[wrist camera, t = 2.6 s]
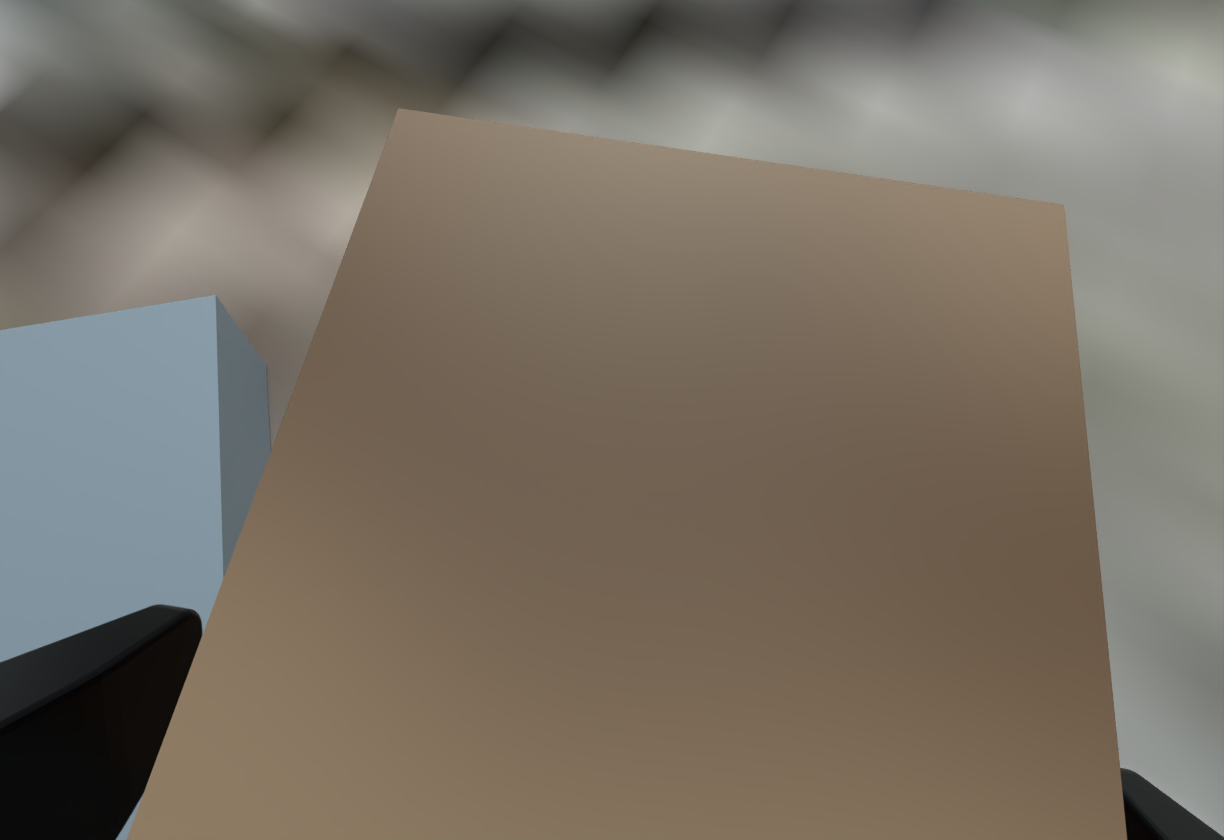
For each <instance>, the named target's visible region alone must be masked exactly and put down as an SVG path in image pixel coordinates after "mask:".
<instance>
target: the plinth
mask: <svg viewBox="0 0 1224 840" xmlns="http://www.w3.org/2000/svg"><path fill="white" fill-rule="evenodd" d="M270 452H271V446H270V428H269V410H268V392H267V374H266V364H265V363H264V361H263V360H262V359H261V357H260V356H259V354H258V353H257V352H256V350H255V349H254V348H253V346H252V345H251V343H250V342H249V341H248V339H247V338H246V337H245V335H244V334H243V332H242V331H241V330H240V328H239V327H238V325H237V324H236V323H235V321H234V320H233V319H232V317H231V316H230V314H229V313H228V312H227V310H226V309H225V307H224V306H223V305H222V303H221V302H220V301H219V299H218V298H217V296H216V295H213V296H207V297H201V298H195V299H189V300H183V301H176V302H170V303H164V304H158V305H152V306H146V307H140V308H134V309H128V310H121V311H115V312H109V313H103V314H97V315H91V316H85V317H79V318H72V319H66V320H60V321H54V322H48V323H42V324H36V325H30V326H24V327H17V328H11V329H5V330H0V662H2V661H5V660H8V659H10V658H13V657H16V656H18V655H21V654H24V653H26V652H29V651H32V650H34V649H37V648H40V647H42V646H45V645H48V644H50V643H53V642H56V641H58V640H61V639H64V638H66V637H69V636H72V635H74V634H77V633H80V632H83V631H85V630H88V629H91V628H93V627H96V626H99V625H101V624H104V623H107V622H109V621H112V620H115V619H117V618H120V617H123V616H125V615H128V614H131V613H133V612H136V611H139V610H141V609H144V608H147V607H149V606H152V605H156V604H165V605H171V606H177V607H183V608H189V609H193V610H195V611H196V612H197V613H198V614H199V615H200V618H201V621H202V631H203V633H204V630H205V627H206V624H207V622H208V619H209V616H210V614H211V611H212V608H213V606H214V603H215V600H216V598H217V595H218V592H219V590H220V587H221V584H222V581H223V579H224V576H225V573H226V571H227V568H228V565H229V563H230V560H231V557H232V555H233V552H234V549H235V547H236V544H237V541H238V538H239V536H240V533H241V530H242V528H243V525H244V522H245V520H246V517H247V514H248V512H249V509H250V506H251V504H252V501H253V498H254V495H255V493H256V490H257V487H258V485H259V482H260V479H261V477H262V474H263V471H264V469H265V466H266V463H267V461H268V458H269V455H270ZM141 799H142V797H141ZM141 799H140V801H139V802H138V804H137V806H136V808H135V809H134V811H133V813H132V815H131V816H130V818H129V819H128V821H127V823H126V824H125V826H124V827H123V829H122V831H121V832H120V834H119V836H118V837H117V839H116V840H126V839H127V837H128V834H129V831H130V829H131V826H132V823H133V821H134V818H135V815H136V813H137V810H138V807H139V804H140V802H141Z"/></svg>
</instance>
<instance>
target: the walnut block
mask: <svg viewBox="0 0 1224 840" xmlns="http://www.w3.org/2000/svg"><path fill="white" fill-rule="evenodd" d="M126 840H1127V833H1126V823H1125V813H1124V802H1123V792H1122V782H1121V772H1120V762H1119V752H1118V742H1117V732H1116V722H1115V712H1114V702H1113V692H1112V682H1111V672H1110V662H1109V652H1108V642H1107V632H1106V622H1105V612H1104V602H1103V592H1102V582H1101V571H1100V561H1099V551H1098V541H1097V531H1096V521H1095V511H1094V501H1093V491H1092V481H1091V471H1090V461H1089V451H1088V441H1087V431H1086V421H1085V411H1084V401H1083V391H1082V381H1081V371H1080V361H1079V351H1078V341H1077V331H1076V320H1075V310H1074V300H1073V290H1072V280H1071V270H1070V260H1069V250H1068V240H1067V230H1066V220H1065V210H1064V205H1061V204H1054V203H1048V202H1041V201H1034V200H1027V199H1020V198H1013V197H1006V196H999V195H992V194H986V193H979V192H972V191H965V190H958V189H951V188H944V187H937V186H930V185H923V184H917V183H910V182H903V181H896V180H889V179H882V178H875V177H868V176H861V175H854V174H848V173H841V172H834V171H827V170H820V169H813V168H806V167H799V166H792V165H785V164H779V163H772V162H765V161H758V160H751V159H744V158H737V157H730V156H723V155H716V154H710V153H703V152H696V151H689V150H682V149H675V148H668V147H661V146H654V145H647V144H641V143H634V142H627V141H620V140H613V139H606V138H599V137H592V136H585V135H578V134H572V133H565V132H558V131H551V130H544V129H537V128H530V127H523V126H516V125H509V124H503V123H496V122H489V121H482V120H475V119H468V118H461V117H454V116H447V115H440V114H434V113H427V112H420V111H413V110H406V109H398V111H397V114H396V117H395V119H394V122H393V125H392V127H391V130H390V133H389V135H388V138H387V141H386V143H385V146H384V149H383V152H382V154H381V157H380V160H379V162H378V165H377V168H376V170H375V173H374V176H373V178H372V181H371V184H370V186H369V189H368V192H367V195H366V197H365V200H364V203H363V205H362V208H361V211H360V213H359V216H358V219H357V221H356V224H355V227H354V229H353V232H352V235H351V237H350V240H349V243H348V246H347V248H346V251H345V254H344V256H343V259H342V262H341V264H340V267H339V270H338V272H337V275H336V278H335V280H334V283H333V286H332V289H331V291H330V294H329V297H328V299H327V302H326V305H325V307H324V310H323V313H322V315H321V318H320V321H319V323H318V326H317V329H316V332H315V334H314V337H313V340H312V342H311V345H310V348H309V350H308V353H307V356H306V358H305V361H304V364H303V366H302V369H301V372H300V375H299V377H298V380H297V383H296V385H295V388H294V391H293V393H292V396H291V399H290V401H289V404H288V407H287V409H286V412H285V415H284V418H283V420H282V423H281V426H280V428H279V431H278V434H277V436H276V439H275V442H274V444H273V447H272V450H271V452H270V455H269V458H268V461H267V463H266V466H265V469H264V471H263V474H262V477H261V479H260V482H259V485H258V487H257V490H256V493H255V495H254V498H253V501H252V504H251V506H250V509H249V512H248V514H247V517H246V520H245V522H244V525H243V528H242V530H241V533H240V536H239V538H238V541H237V544H236V547H235V549H234V552H233V555H232V557H231V560H230V563H229V565H228V568H227V571H226V573H225V576H224V579H223V581H222V584H221V587H220V590H219V592H218V595H217V598H216V600H215V603H214V606H213V608H212V611H211V614H210V616H209V619H208V622H207V624H206V627H205V630H204V633H203V635H202V638H201V641H200V643H199V646H198V649H197V651H196V654H195V657H194V659H193V662H192V665H191V667H190V670H189V673H188V676H187V678H186V681H185V684H184V686H183V689H182V692H181V694H180V697H179V700H178V702H177V705H176V708H175V710H174V713H173V716H172V718H171V721H170V724H169V727H168V729H167V732H166V735H165V737H164V740H163V743H162V745H161V748H160V751H159V753H158V756H157V759H156V761H155V764H154V767H153V770H152V772H151V775H150V778H149V780H148V783H147V786H146V788H145V791H144V794H143V796H142V799H141V802H140V804H139V807H138V810H137V813H136V815H135V818H134V821H133V823H132V826H131V829H130V831H129V834H128V837H127V839H126Z"/></svg>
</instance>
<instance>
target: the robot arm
mask: <svg viewBox="0 0 1224 840" xmlns="http://www.w3.org/2000/svg"><path fill="white" fill-rule="evenodd" d="M202 635H203V631H202V621H201V618H200V615H199V614H198V613H197V612H196V611H195V610H193V609H189V608H183V607H177V606H171V605H165V604H156V605H152V606H149V607H147V608H144V609H141V610H139V611H136V612H133V613H131V614H128V615H125V616H123V617H120V618H117V619H115V620H112V621H109V622H107V623H104V624H101V625H99V626H96V627H93V628H91V629H88V630H85V631H83V632H80V633H77V634H74V635H72V636H69V637H66V638H64V639H61V640H58V641H56V642H53V643H50V644H48V645H45V646H42V647H40V648H37V649H34V650H32V651H29V652H26V653H24V654H21V655H18V656H16V657H13V658H10V659H8V660H5V661H2V662H0V840H116V839H117V837H118V836H119V834H120V832H121V831H122V829H123V827H124V826H125V824H126V823H127V821H128V819H129V818H130V816H131V815H132V813H133V811H134V809H135V808H136V806H137V804H138V802H139V801H140V799H141V797H142V796H143V794H144V791H145V788H146V786H147V783H148V780H149V778H150V775H151V772H152V770H153V767H154V764H155V761H156V759H157V756H158V753H159V751H160V748H161V745H162V743H163V740H164V737H165V735H166V732H167V729H168V727H169V724H170V721H171V718H172V716H173V713H174V710H175V708H176V705H177V702H178V700H179V697H180V694H181V692H182V689H183V686H184V684H185V681H186V678H187V676H188V673H189V670H190V667H191V665H192V662H193V659H194V657H195V654H196V651H197V649H198V646H199V643H200V641H201V638H202ZM1120 772H1121V782H1122V792H1123V802H1124V813H1125V823H1126V833H1127V840H1224V837H1223V836H1221V835H1220V834H1219V833H1217V832H1216V831H1215V830H1213V829H1212V828H1210V827H1209V826H1208V825H1206V824H1205V823H1204V822H1202V821H1201V820H1200V819H1198V818H1197V817H1196V816H1194V815H1193V814H1192V813H1190V812H1189V811H1187V810H1186V809H1185V808H1183V807H1182V806H1181V805H1179V804H1178V803H1177V802H1175V801H1174V800H1173V799H1171V798H1170V797H1169V796H1167V795H1166V794H1164V793H1163V792H1162V791H1160V790H1159V789H1158V788H1156V787H1155V786H1154V785H1152V784H1151V783H1150V782H1148V781H1147V780H1146V779H1144V778H1143V777H1141V776H1140V775H1139V774H1137V773H1136V772H1133V771H1131V770H1128V769H1123V768H1120Z"/></svg>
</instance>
